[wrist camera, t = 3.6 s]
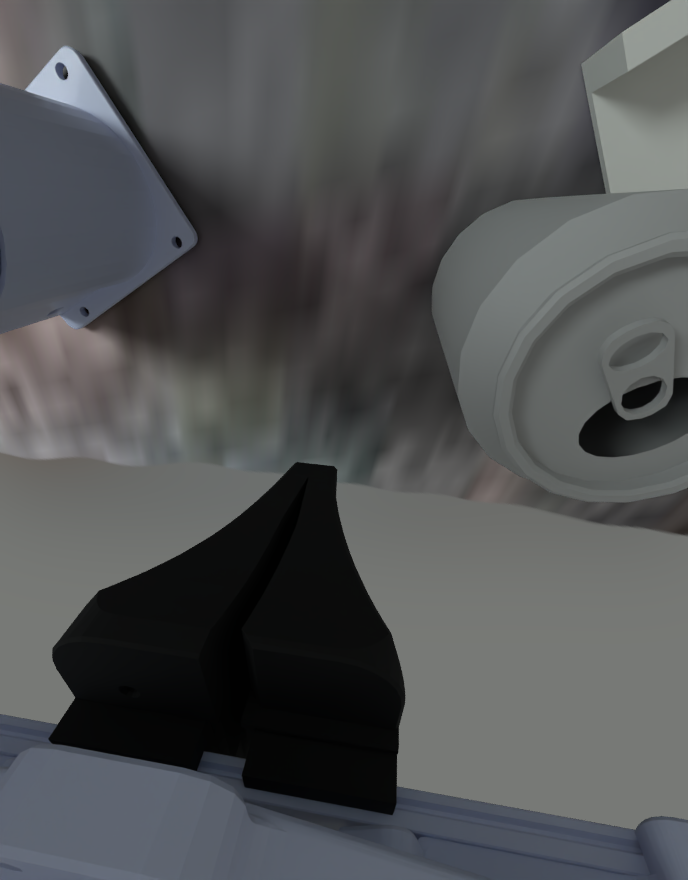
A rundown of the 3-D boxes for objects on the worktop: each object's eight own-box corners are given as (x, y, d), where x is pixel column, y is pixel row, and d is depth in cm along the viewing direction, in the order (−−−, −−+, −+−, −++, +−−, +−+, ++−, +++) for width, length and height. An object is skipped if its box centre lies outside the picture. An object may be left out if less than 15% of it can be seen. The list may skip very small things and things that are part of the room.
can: (465, 389, 21) (529, 560, 11) (402, 261, 18) (409, 332, 8) (615, 319, 18) (889, 462, 8) (570, 156, 15) (910, 56, 5)
